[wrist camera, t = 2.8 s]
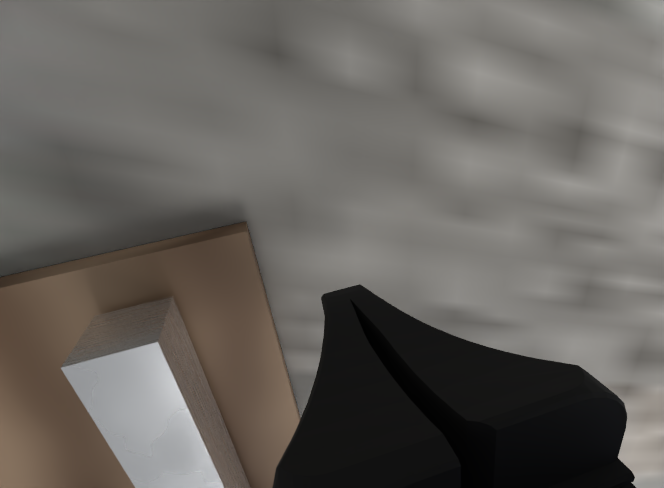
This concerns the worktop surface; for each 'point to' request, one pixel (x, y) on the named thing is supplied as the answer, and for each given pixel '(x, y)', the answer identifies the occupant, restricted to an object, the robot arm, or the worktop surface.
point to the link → (153, 399)
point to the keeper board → (122, 292)
